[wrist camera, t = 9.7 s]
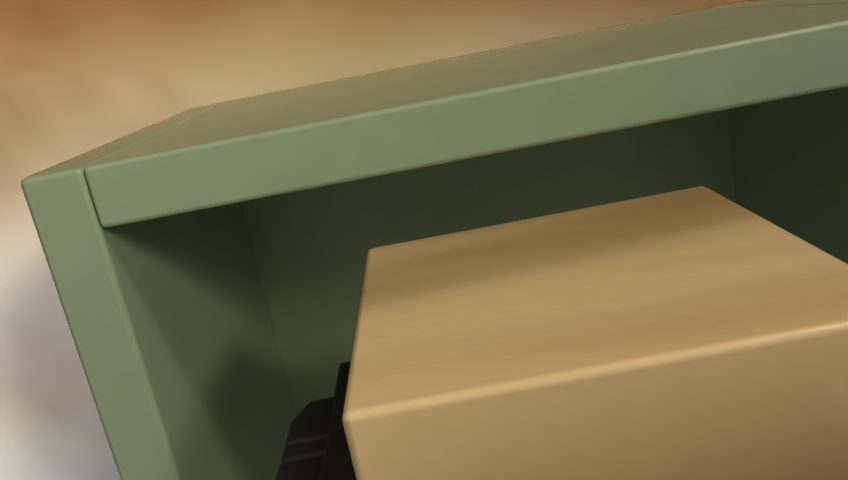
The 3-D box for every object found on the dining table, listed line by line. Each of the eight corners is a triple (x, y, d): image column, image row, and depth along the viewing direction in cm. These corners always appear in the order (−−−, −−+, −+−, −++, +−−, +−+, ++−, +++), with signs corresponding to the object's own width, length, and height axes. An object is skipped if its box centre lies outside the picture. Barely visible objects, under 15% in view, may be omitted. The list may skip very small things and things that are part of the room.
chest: (189, 108, 19) (16, 179, 11) (742, 1, 19) (1027, -15, 10) (335, 650, 24) (298, 1006, 15) (782, 572, 23) (1002, 891, 15)
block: (365, 247, 11) (339, 416, 6) (705, 183, 11) (935, 305, 6) (428, 534, 13) (445, 852, 8) (731, 481, 12) (937, 768, 8)
